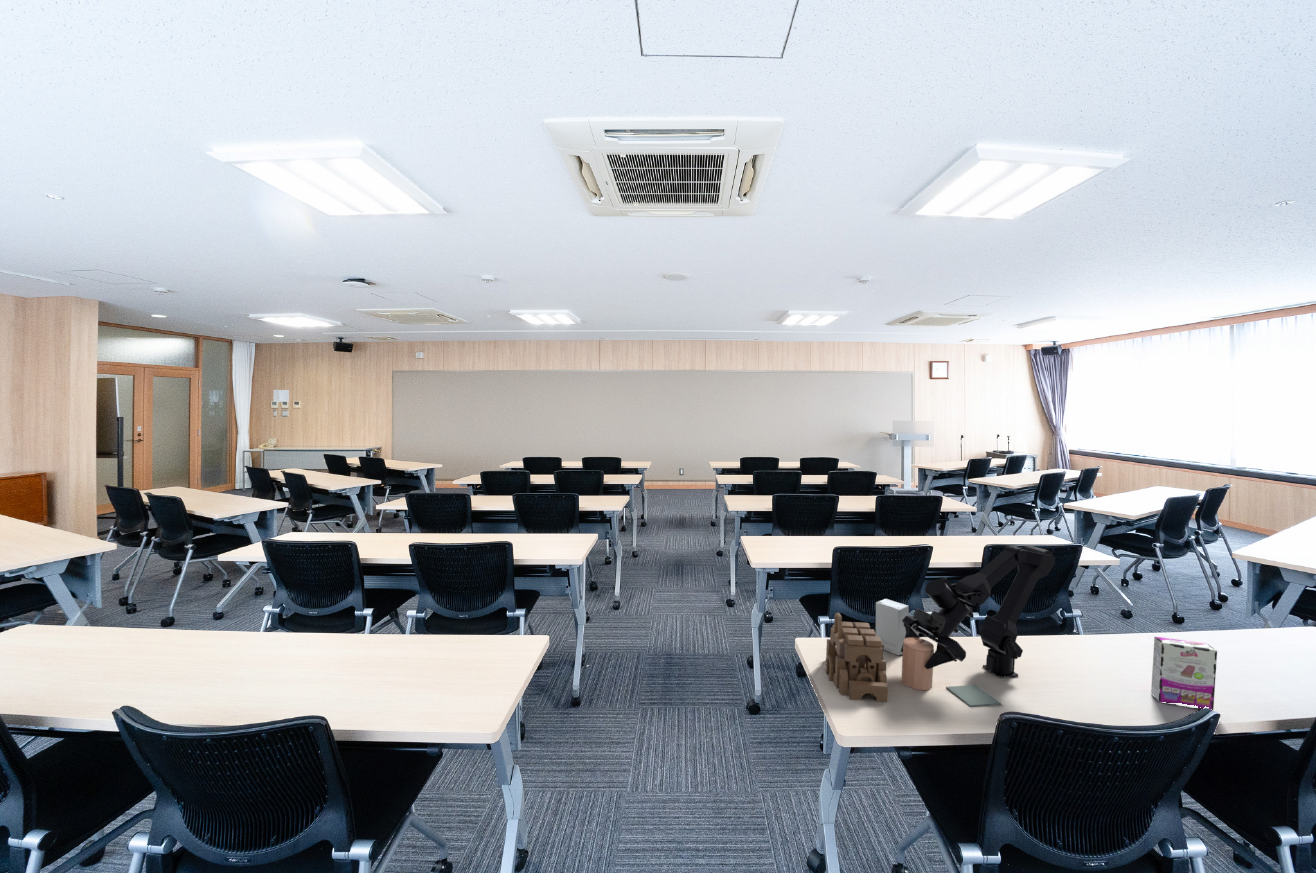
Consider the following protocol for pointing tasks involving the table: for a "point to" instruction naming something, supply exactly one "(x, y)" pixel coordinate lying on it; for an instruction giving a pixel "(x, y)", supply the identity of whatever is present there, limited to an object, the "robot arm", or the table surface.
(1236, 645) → the table surface
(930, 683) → the salmon pink cylinder
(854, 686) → the wooden puzzle
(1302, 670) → the table surface
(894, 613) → the skincare box
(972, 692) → the mat
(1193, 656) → the candy bar box
